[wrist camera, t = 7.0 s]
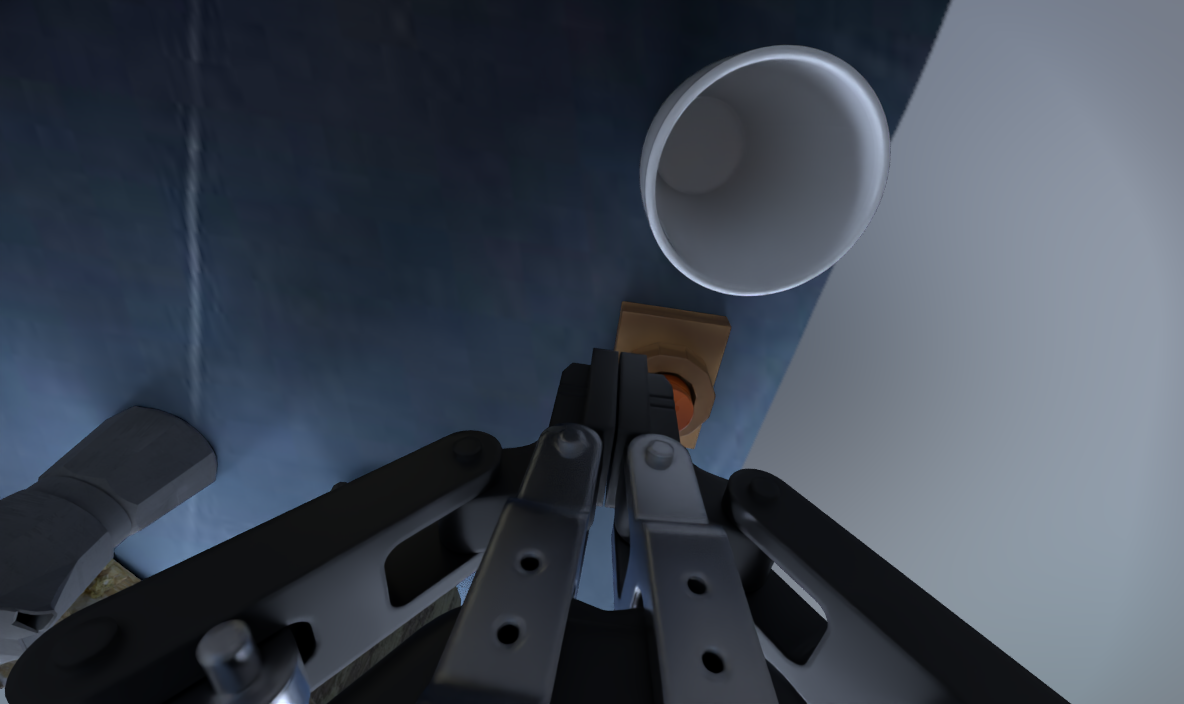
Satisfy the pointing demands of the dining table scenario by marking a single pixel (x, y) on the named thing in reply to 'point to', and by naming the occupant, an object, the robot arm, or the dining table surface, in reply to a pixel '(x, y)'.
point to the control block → (677, 351)
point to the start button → (681, 401)
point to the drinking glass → (764, 168)
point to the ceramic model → (89, 598)
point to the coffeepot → (90, 514)
